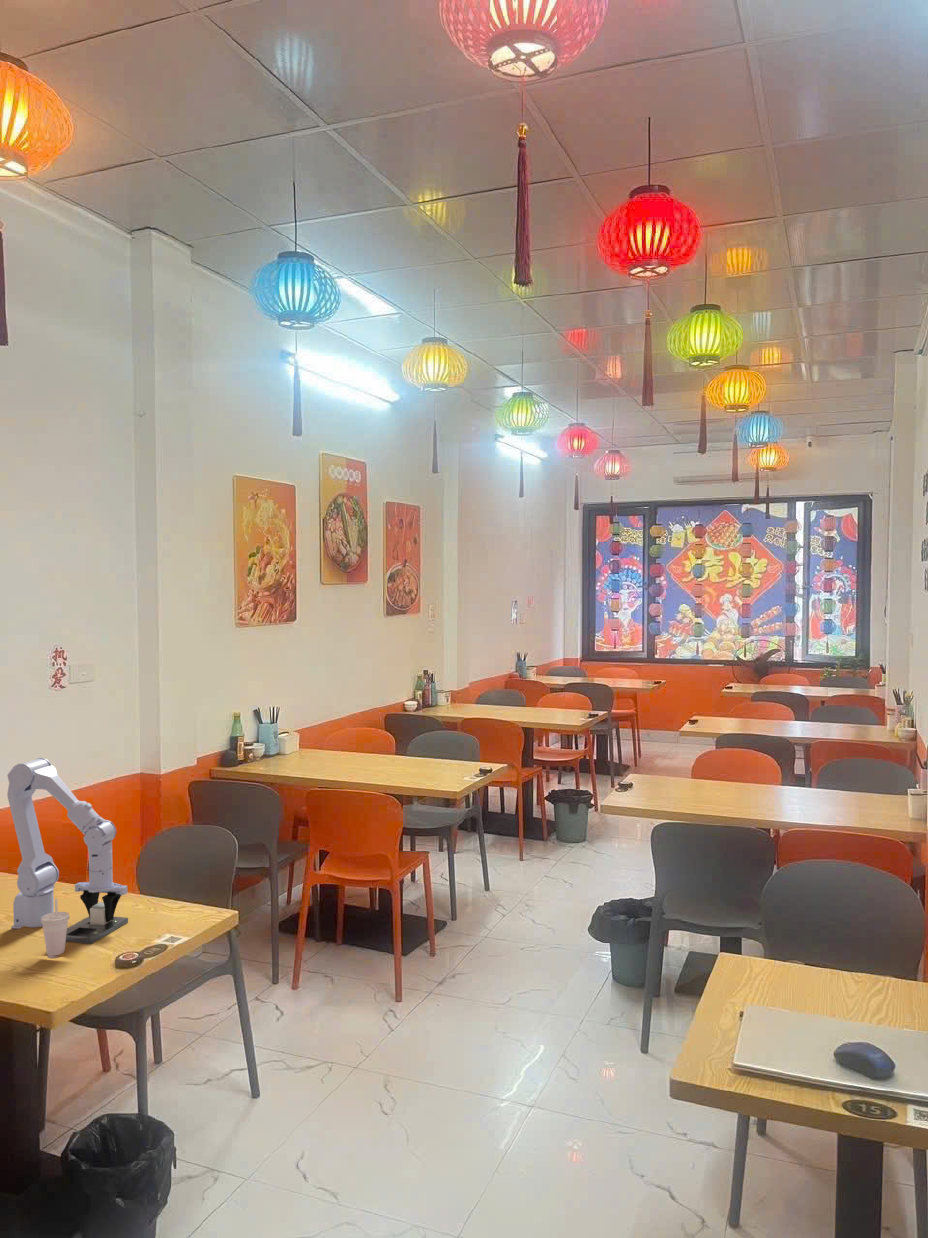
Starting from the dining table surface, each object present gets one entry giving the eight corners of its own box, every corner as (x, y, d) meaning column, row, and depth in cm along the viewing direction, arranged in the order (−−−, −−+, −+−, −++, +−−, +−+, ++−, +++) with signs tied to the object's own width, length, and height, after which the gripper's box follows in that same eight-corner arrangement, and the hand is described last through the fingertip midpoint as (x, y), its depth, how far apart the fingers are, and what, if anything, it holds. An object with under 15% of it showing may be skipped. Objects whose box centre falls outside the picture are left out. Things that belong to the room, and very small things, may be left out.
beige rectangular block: (90, 927, 229) (89, 906, 229) (99, 922, 233) (99, 901, 233) (103, 928, 228) (103, 908, 228) (113, 923, 232) (112, 902, 232)
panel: (53, 943, 221) (53, 934, 221) (92, 922, 235) (91, 914, 235) (91, 947, 218) (91, 938, 218) (128, 925, 233) (128, 917, 233)
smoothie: (51, 963, 209) (50, 904, 208) (35, 957, 212) (34, 900, 212) (75, 953, 214) (74, 897, 214) (59, 948, 217) (59, 892, 217)
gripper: (66, 871, 228) (67, 923, 228) (115, 875, 225) (116, 927, 225) (84, 863, 235) (85, 913, 235) (132, 866, 232) (132, 917, 232)
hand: (101, 919), depth 231 cm, fingers open, 4 cm apart
